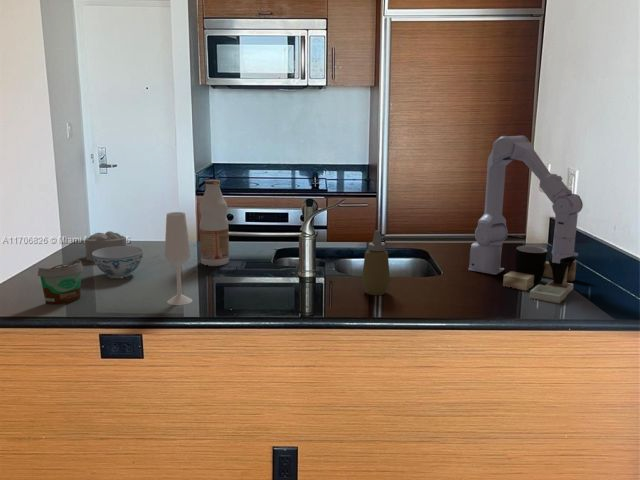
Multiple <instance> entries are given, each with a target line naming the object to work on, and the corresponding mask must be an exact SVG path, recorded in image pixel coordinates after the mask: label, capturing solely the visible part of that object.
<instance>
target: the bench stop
mask: <svg viewBox="0 0 640 480" xmlns="http://www.w3.org/2000/svg"><path fill="white" fill-rule="evenodd" d="M577 262H578V261H577V260H576V259H575V261H574V262H573V264H572V265H571V268H570V270H569V273H568V276H567V282H574V281H575V279H576V270H577ZM543 277H544V278H550V279H553V273H552V269H551V266H550V264H549V260H546V264H545V269H544V273H543ZM543 277H542V278H543Z"/></svg>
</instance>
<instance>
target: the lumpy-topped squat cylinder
mask: <svg viewBox="0 0 640 480" xmlns="http://www.w3.org/2000/svg"><path fill="white" fill-rule="evenodd" d="M84 244H85V257H86V258H85V259H86V261H88V260H94V259H93V257H92V252H94V251H96V250H98V249H102V248H107V247H116V246H128V245H127V237H126V236H125V235H121V234H120V233H119V232H114V231H106V232H105V233H104V232H95V233H94V234H91V235H89V237H87V238H85V239H84Z"/></svg>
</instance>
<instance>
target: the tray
mask: <svg viewBox="0 0 640 480" xmlns="http://www.w3.org/2000/svg"><path fill="white" fill-rule="evenodd" d="M567 290H568V289H562V288H556V287H551V286H546V284H545V285H543V284H540V283H538V284H536V285H535V287H534V286H533V287H532V289H531V290H529V296H528V297H529V299H535V300H538V301H544V302H549V303H555V304H560V303H561V302H562V301H564V299H566V298H567V296H568V294H567Z"/></svg>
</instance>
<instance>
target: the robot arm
mask: <svg viewBox="0 0 640 480" xmlns="http://www.w3.org/2000/svg"><path fill="white" fill-rule="evenodd" d="M514 160H517V161H520V162H523V163H524V164H525V165H526V166H527V167H528V169H530V171H531V172H532V173H533V174H534V176H535V177H536V178H537V179H538V180H539V188H540V189H541V191H543V193H544V194H545V195H546V197H547V198H548V200H549V201H550V202H551V203H552V204H551V205H552V206H551V207H552V211H553V213H554V214H555V217H554V219H555V221H554V230H553V231H554V234H553V243H552V250H551V255H552V258H549V259H548V261H549V264H550V266H551V269H552V273H553V278H552V279H553V280H554V283H555V284H560V285H561V284H562V283H563V280H564V276H565V272H566V270H567V268H568V273H569V270H570V268H571V265H572V264H573V262H574V261H575V260H576V257H578V256H579V253H578V252H576V251H575V246H576V245H575V244H576V235H577V234H576V233H577V226H578V216H579V213H580V212H581V211H582V209H583V205H584V203H583V200H582V198H581V196H580V195H578V194H576V193H573V191H572V190H571V189H569V188H568V186H567V185H566V184H565V183H564V182H563V177H562V176H561V175H558V174H556V173H551V172H550V171H549V169H548V168H547V167H546V165H545V163H544V162H543V160H542V159H541V158H540V156H539V155H538V153H537V152H536V151H535V149H534V145H533V143H532V142H530V140H529V139H528V137H526V135H522V134H521V135H520V134H519V135H510V136H507V135H502V136H500V137H499V138H497V139H496V140H494V141H493V143H492V150H491V152H490V154H489V156H488V158H487V165H486V166H487V167H486V169H487V171H486V180H485V181H486V184H485V199H484V209H483V210H484V212H483V215H482V216H481V217H480V218H479V219H478V220H477V226H476V228H475V230H474V237H475V240H476V241H474V242H473V243H472V244H471V246H470V251H469V265H468V269H467V270H468V271H471V272H478V273H483V274H489V275H495V276H496V275H498V274H500V273H501V272H504V271H505V268H504V267H501V264H502V252H503V251H502V249H503V244H504V241H505V240H506V239H507V237H508V236H509V235H508V233H509V232H508V231H509V229H508V227H507V220H506V218H505V217H504V215H503V209H504V208H503V206H504V196H505V195H504V194H505V193H504V192H505V182H506V167H507V165H508V164H510V163H511V162H512V161H514ZM567 276H568V274H567Z"/></svg>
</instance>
